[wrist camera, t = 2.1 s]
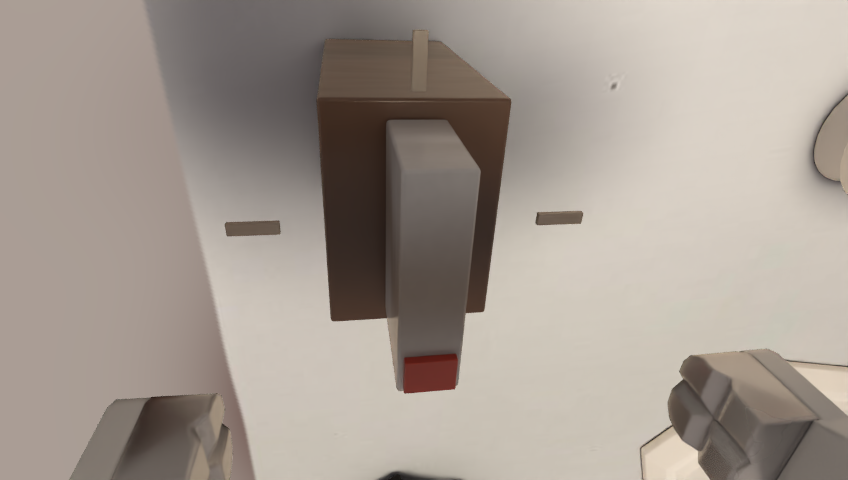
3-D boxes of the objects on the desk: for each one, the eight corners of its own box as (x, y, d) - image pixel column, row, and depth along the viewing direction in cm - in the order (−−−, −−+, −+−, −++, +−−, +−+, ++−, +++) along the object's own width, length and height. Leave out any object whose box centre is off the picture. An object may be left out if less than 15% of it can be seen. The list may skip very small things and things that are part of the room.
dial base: (255, -7, 19) (188, 23, 11) (504, 2, 21) (624, 35, 12) (281, 222, 24) (250, 370, 16) (480, 215, 26) (553, 347, 17)
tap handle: (386, 118, 12) (402, 175, 9) (448, 118, 13) (485, 173, 9) (385, 307, 15) (397, 400, 12) (435, 304, 16) (460, 394, 12)
